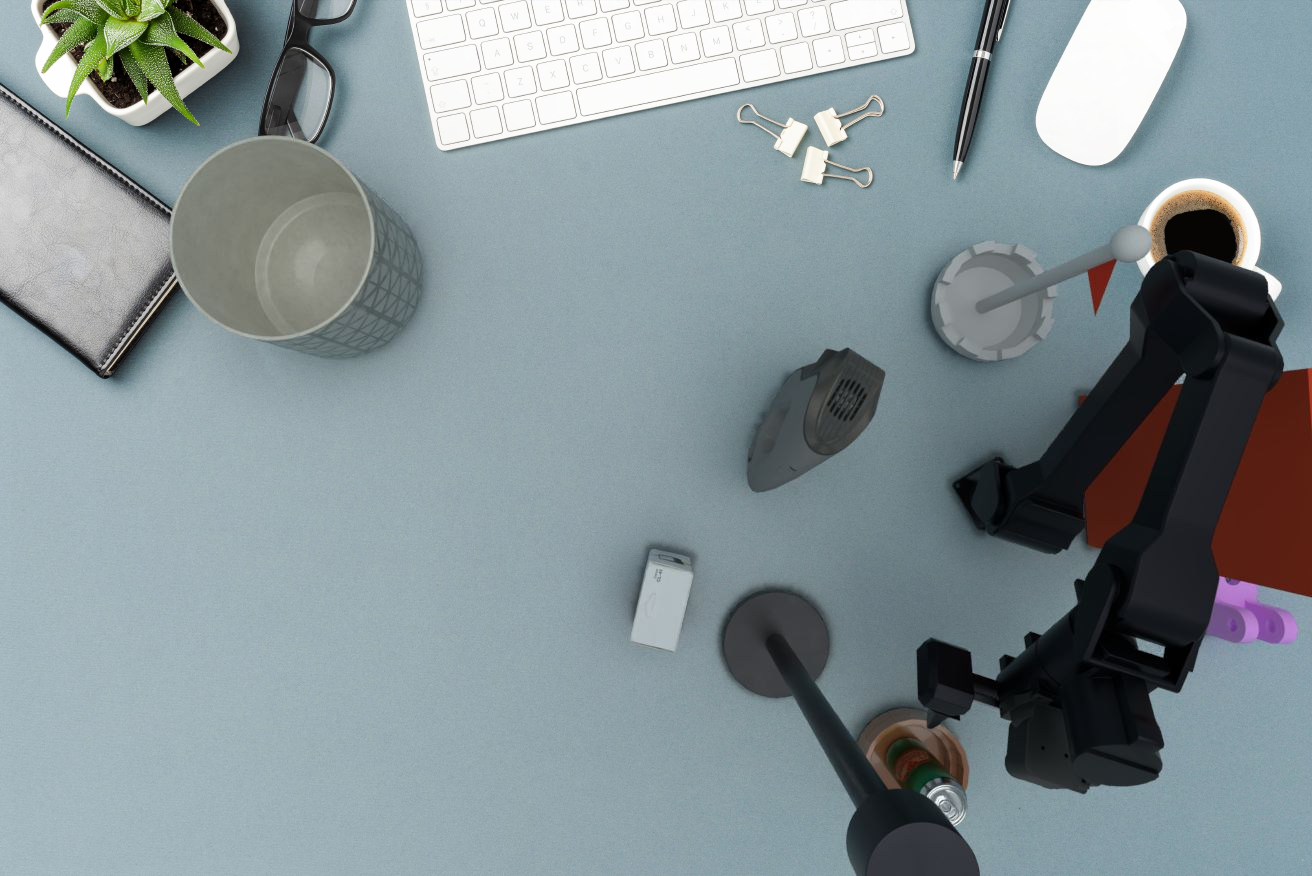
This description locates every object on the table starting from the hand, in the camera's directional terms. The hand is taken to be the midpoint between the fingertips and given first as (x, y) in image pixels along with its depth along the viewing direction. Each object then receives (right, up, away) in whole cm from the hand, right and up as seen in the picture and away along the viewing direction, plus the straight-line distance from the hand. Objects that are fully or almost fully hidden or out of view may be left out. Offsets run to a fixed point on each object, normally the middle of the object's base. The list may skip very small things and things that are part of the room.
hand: (973, 739), depth 75 cm
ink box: (-30, +12, +14) cm, 35 cm away
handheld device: (-15, +30, +14) cm, 37 cm away
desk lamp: (-17, +6, +14) cm, 23 cm away
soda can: (-2, -7, +13) cm, 15 cm away
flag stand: (+6, +44, +14) cm, 47 cm away
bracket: (+35, +14, +14) cm, 40 cm away
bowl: (-2, -7, +14) cm, 16 cm away
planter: (-66, +48, +14) cm, 83 cm away
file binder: (+22, +26, +14) cm, 37 cm away
